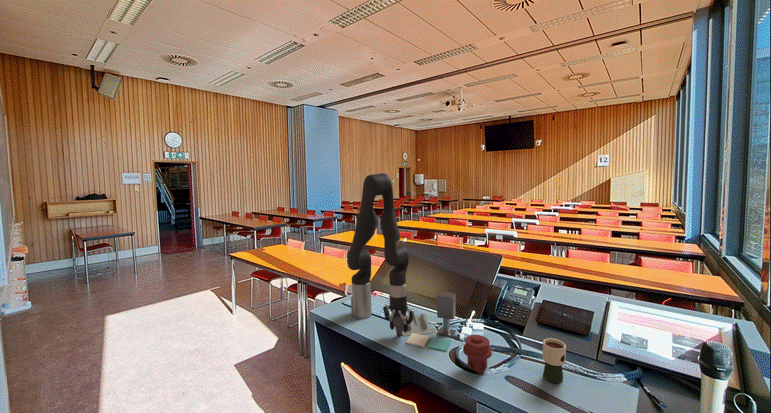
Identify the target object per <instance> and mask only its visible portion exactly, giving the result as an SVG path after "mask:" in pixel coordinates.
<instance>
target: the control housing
mask: <svg viewBox="0 0 771 413" xmlns="http://www.w3.org/2000/svg"><path fill="white" fill-rule="evenodd" d="M456 295H457V294H456V292H447V291H439V292H438V293H437V295H436V318H439V319H442V327H439V329H438V331H436V334H437V335H439V336H444V337H449V338H454V336H455V334H456V330H455V329H451V321H454V320H455V317H456V315H457V313H456V310H457V309H456V308H457V307H456V306H457V305H456V301H457V300H456V299H457V298H456Z"/></svg>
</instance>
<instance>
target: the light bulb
mask: <svg viewBox="0 0 771 413" xmlns="http://www.w3.org/2000/svg"><path fill="white" fill-rule="evenodd" d="M393 324H394V329H395V332H396V336H397V337H398V338H400V337H403V335H402V331H404V322H403V320H402V319H401V317H399V316H394V318H393Z"/></svg>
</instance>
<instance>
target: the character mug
mask: <svg viewBox="0 0 771 413" xmlns="http://www.w3.org/2000/svg"><path fill="white" fill-rule="evenodd" d="M566 358H567V345H566V343H565V342H563V340H562V341H561V340H559V339H557V338H545V339H543V340H542V360H543V361H544V362H545V363H544V367H543V372H542V376H543V377H544V378H545V379H546V380H548V381H549V382H552V383H555V384H559V383H563V382H564V371H563V366H564V365H566Z"/></svg>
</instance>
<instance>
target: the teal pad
mask: <svg viewBox="0 0 771 413" xmlns="http://www.w3.org/2000/svg"><path fill="white" fill-rule="evenodd" d="M451 343H452V340H451V339H447V338H446V339H445V338H440V337H435V336H433V337H431V339H430V341H429V343H428V345H427V349H432V350H436V351H441V352H448V350H449V348H450V346H451Z"/></svg>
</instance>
